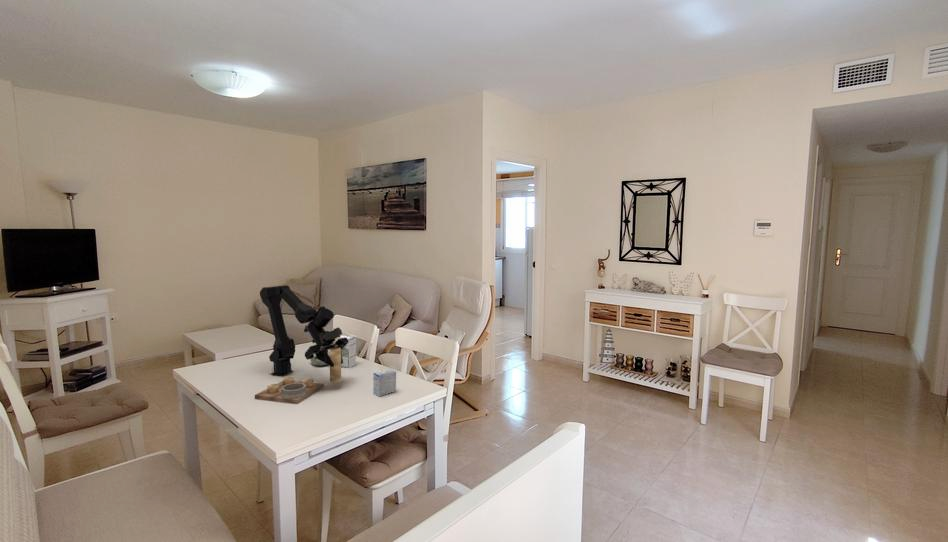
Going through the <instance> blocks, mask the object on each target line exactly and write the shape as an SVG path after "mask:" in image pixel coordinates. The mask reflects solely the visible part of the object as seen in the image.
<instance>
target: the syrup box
mask: <svg viewBox="0 0 948 542" xmlns="http://www.w3.org/2000/svg"><path fill="white" fill-rule="evenodd" d="M344 337H345V338H347V339H348V341H349V342H348V343H347V345H346V346H345V347H344V348H343V349H342V350H341V353H342V358H343V363H342V364H341V368H346V367H347V368H348V369H351V368H353V367H355V366H357V365H356V364H357V348H356V347H357V337H356V335H353V334H343V335H342V334H341V335H340V337H338V339H340V338H344ZM354 365H355V366H354ZM352 366H353V367H352ZM350 367H351V368H350Z"/></svg>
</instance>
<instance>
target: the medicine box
mask: <svg viewBox="0 0 948 542" xmlns="http://www.w3.org/2000/svg"><path fill="white" fill-rule="evenodd" d="M372 376H373V377H372V381H373V383H372V385H373V390H372V393H373V395H375V394H376V395H375V396H377V395H378V396H377V397H379V396H380V397H383V396H386V395H389V394H388V393H390V394H392V393H391V392H393V393H395V392H394V391H396V392H397V371H395V370H394V369H392V368H388V369H383V370H380V371H375V372H373V375H372ZM385 394H386V395H385ZM382 395H383V396H382Z"/></svg>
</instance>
